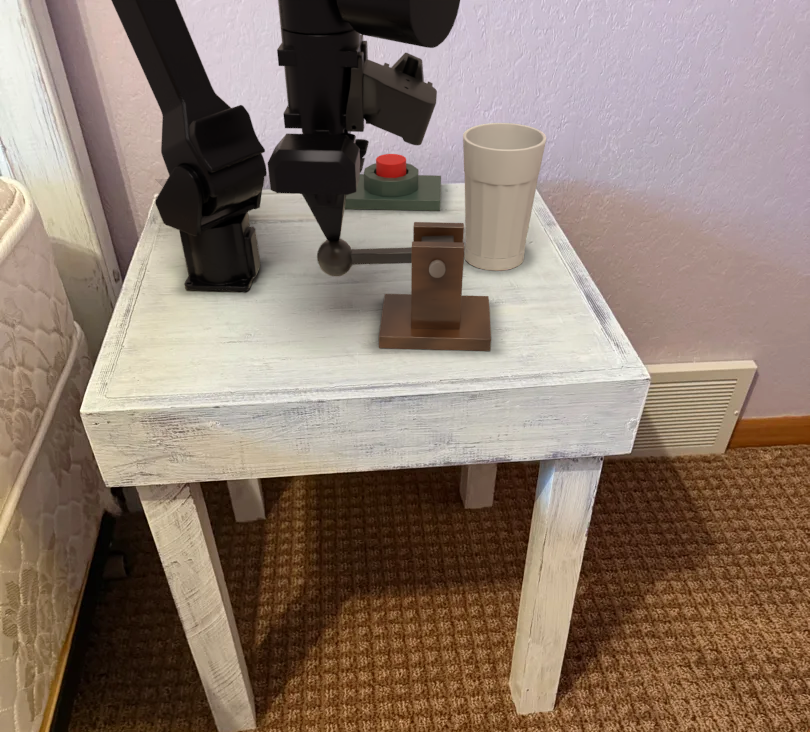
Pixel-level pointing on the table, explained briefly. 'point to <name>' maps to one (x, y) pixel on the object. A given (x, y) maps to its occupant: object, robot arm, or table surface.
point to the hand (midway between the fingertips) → (333, 239)
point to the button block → (396, 191)
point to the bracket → (436, 299)
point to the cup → (499, 191)
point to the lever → (364, 255)
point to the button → (391, 166)
